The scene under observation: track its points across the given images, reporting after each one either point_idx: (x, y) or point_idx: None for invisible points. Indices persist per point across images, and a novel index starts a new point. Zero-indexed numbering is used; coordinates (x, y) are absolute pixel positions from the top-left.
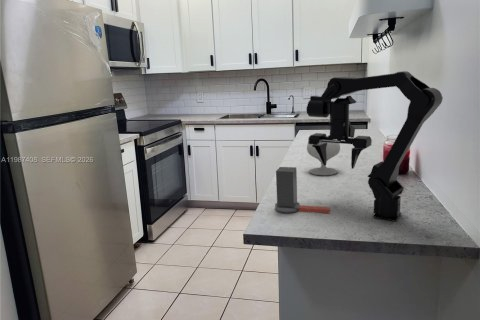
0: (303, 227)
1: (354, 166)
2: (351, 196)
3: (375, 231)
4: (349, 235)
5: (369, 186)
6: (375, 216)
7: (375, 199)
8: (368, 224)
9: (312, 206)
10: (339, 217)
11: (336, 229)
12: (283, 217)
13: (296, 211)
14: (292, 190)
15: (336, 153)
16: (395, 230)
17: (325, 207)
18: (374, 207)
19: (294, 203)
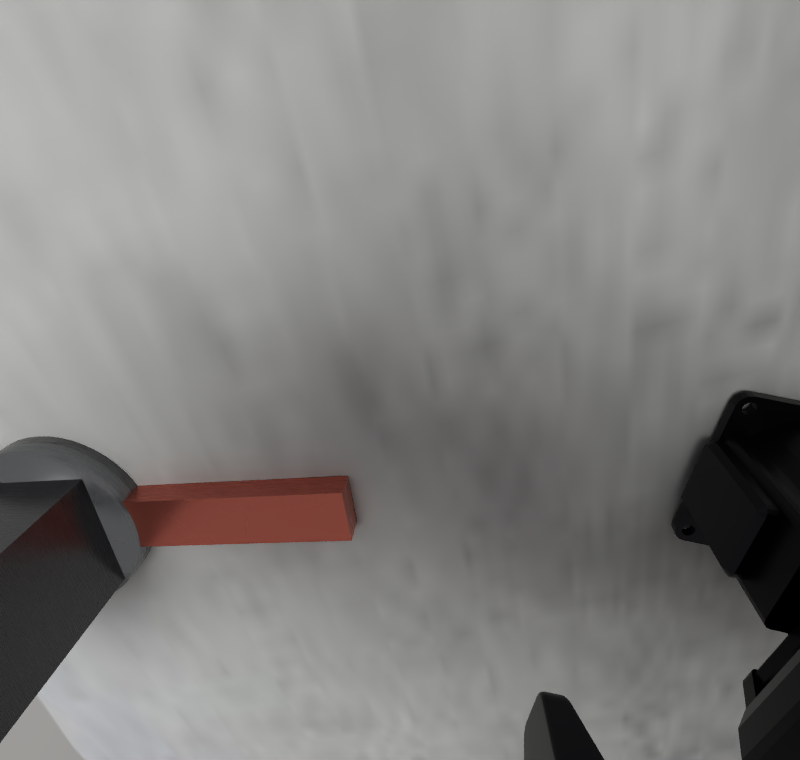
0: (286, 704)
1: (581, 726)
2: (448, 38)
3: (667, 688)
4: None
5: (740, 731)
6: (687, 538)
7: (743, 558)
8: (629, 621)
9: (216, 506)
10: (437, 564)
11: (454, 698)
12: (128, 622)
13: (148, 547)
14: (24, 700)
15: None
16: None
17: (311, 505)
18: (703, 532)
19: (100, 579)
